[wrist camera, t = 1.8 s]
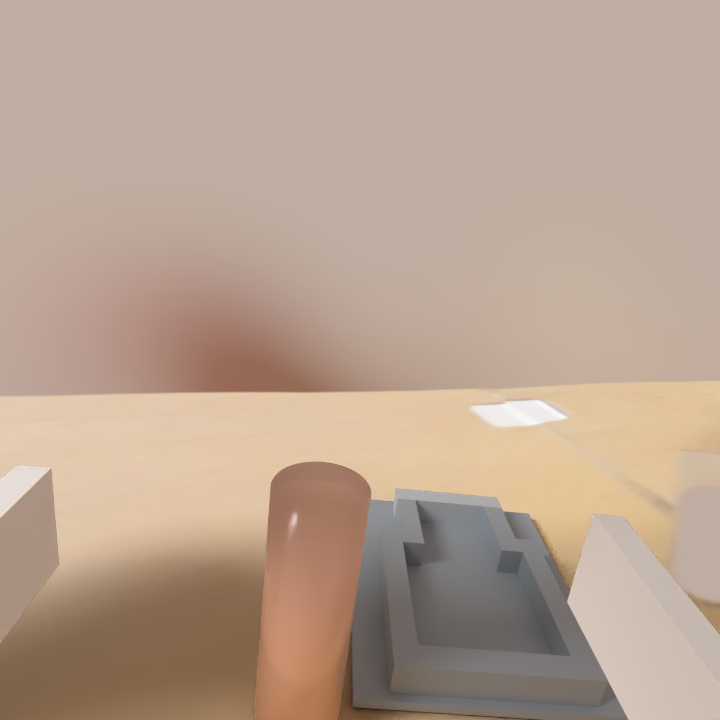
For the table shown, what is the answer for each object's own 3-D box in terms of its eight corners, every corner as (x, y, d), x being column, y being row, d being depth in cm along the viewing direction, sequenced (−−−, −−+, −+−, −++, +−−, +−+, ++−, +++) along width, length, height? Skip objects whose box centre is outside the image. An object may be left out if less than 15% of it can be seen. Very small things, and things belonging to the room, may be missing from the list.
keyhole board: (352, 707, 29) (357, 671, 28) (350, 503, 47) (354, 478, 46) (633, 725, 30) (647, 692, 29) (526, 519, 48) (533, 494, 47)
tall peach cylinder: (246, 753, 26) (263, 513, 22) (260, 672, 30) (277, 457, 26) (337, 758, 26) (373, 523, 22) (339, 677, 31) (369, 466, 26)
